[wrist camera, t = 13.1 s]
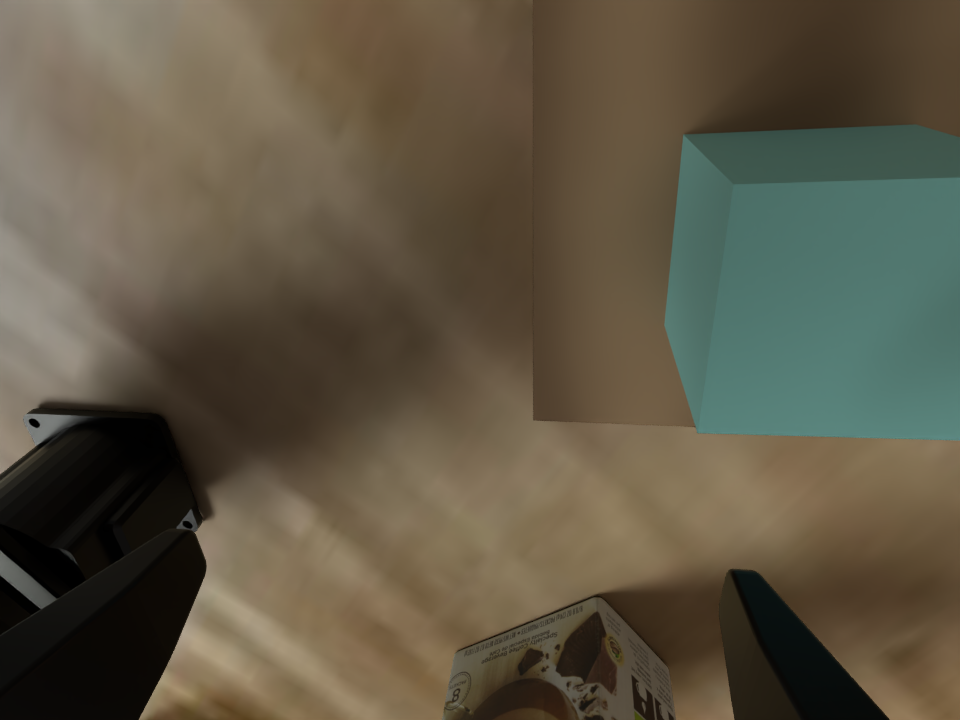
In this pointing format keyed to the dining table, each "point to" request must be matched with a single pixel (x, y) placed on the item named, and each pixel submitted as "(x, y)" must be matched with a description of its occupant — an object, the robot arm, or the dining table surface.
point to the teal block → (819, 282)
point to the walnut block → (657, 155)
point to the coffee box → (562, 672)
